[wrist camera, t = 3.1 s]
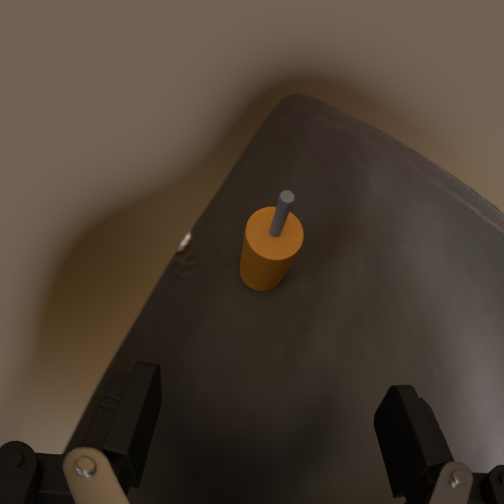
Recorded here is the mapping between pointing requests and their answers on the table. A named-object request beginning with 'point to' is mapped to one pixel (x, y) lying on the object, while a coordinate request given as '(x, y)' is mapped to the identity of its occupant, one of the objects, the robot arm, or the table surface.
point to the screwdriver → (270, 244)
